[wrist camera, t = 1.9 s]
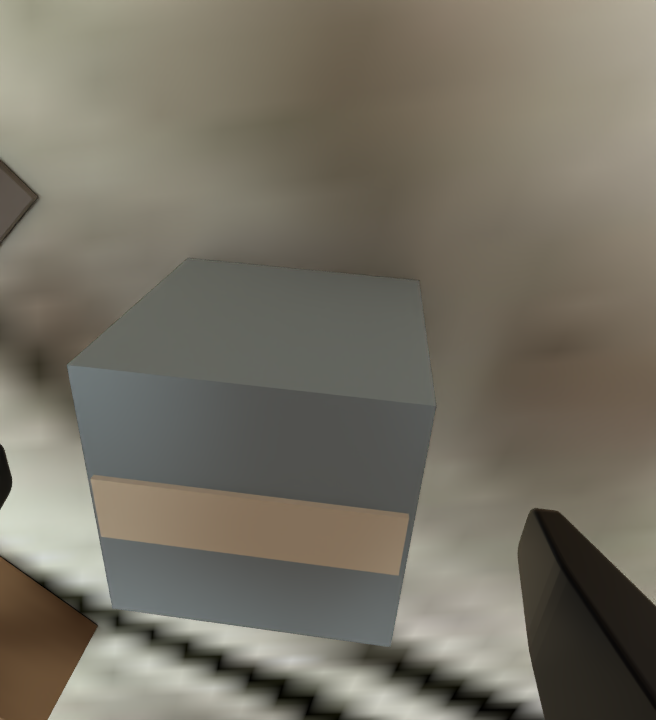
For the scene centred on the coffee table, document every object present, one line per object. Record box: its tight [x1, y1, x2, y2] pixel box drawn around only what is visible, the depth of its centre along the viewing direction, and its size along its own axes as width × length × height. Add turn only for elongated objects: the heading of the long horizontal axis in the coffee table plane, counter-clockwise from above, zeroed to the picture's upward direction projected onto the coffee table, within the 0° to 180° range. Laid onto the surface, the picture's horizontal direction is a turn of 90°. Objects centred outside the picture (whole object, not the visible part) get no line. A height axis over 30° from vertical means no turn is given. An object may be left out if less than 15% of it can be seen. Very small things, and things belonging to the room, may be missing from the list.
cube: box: [67, 258, 436, 647], centre depth 10 cm, size 5×5×5 cm
